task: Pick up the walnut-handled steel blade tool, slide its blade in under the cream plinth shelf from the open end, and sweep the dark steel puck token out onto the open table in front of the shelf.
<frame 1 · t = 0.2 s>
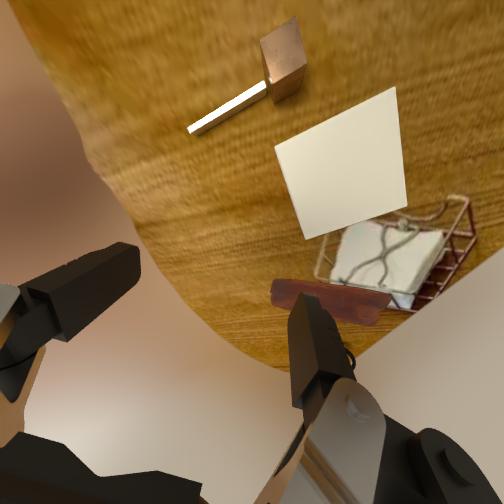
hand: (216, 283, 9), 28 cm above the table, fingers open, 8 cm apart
wooden tablet: (325, 298, 43), on the table
plinth shelf: (327, 174, 31), on the table
blade tool: (281, 82, 27), on the table
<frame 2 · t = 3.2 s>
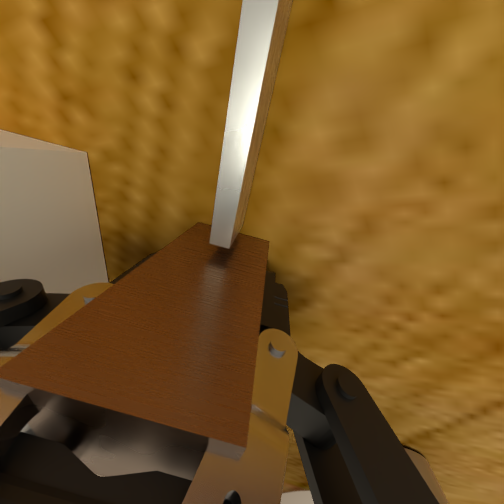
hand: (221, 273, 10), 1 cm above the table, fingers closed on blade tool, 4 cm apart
plinth shelf: (7, 240, 12), on the table
blade tool: (227, 262, 11), on the table, touching gripper
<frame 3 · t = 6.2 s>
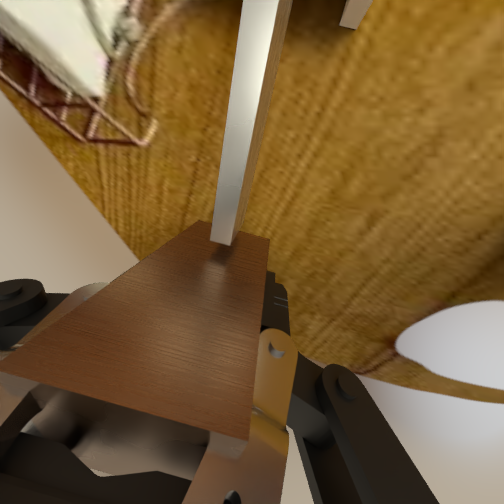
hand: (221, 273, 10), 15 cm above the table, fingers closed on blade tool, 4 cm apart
blade tool: (228, 260, 11), point 14 cm above the table, touching gripper
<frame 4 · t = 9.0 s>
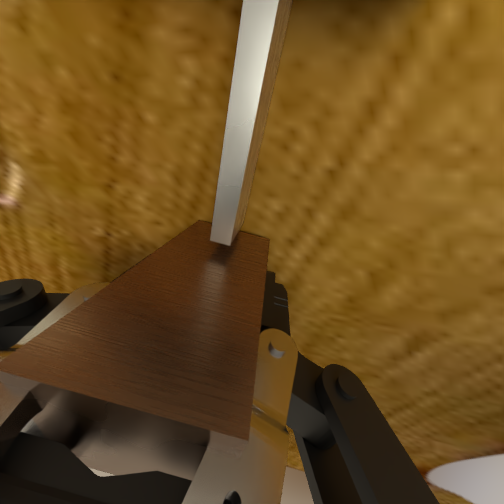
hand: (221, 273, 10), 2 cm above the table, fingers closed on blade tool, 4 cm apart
blade tool: (228, 260, 11), point 1 cm above the table, touching gripper
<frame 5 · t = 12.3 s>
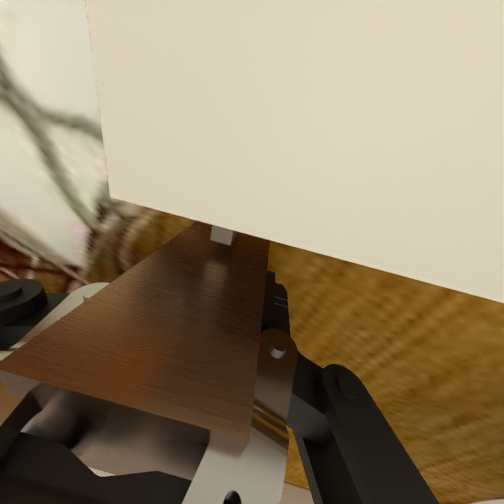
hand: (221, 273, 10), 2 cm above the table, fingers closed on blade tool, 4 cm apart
plinth shelf: (478, 5, 6), on the table
blade tool: (228, 260, 11), point 1 cm above the table, touching gripper, token
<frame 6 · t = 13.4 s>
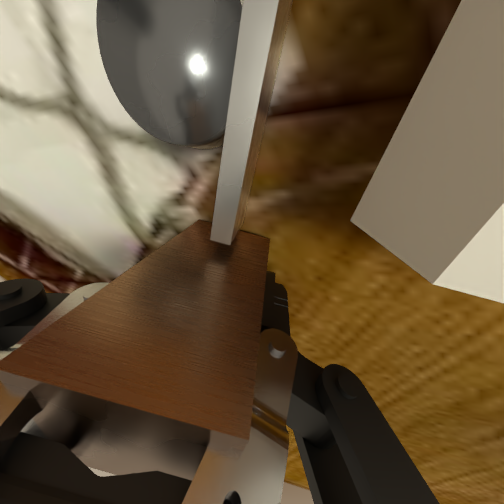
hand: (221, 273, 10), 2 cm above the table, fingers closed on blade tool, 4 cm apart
token: (199, 84, 8), on the table, touching blade tool
blade tool: (228, 260, 11), point 1 cm above the table, touching gripper, token
when the fingers open (2 cm above the table, at t = 14.6 s): blade tool stays where it is, on the table.
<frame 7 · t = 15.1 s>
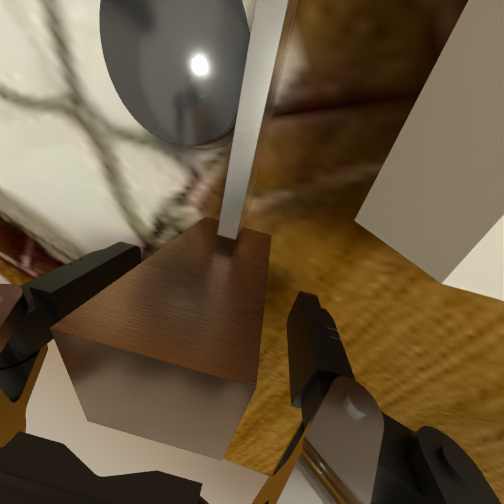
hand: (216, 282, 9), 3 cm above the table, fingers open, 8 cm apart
token: (201, 84, 8), on the table
blade tool: (231, 255, 11), on the table
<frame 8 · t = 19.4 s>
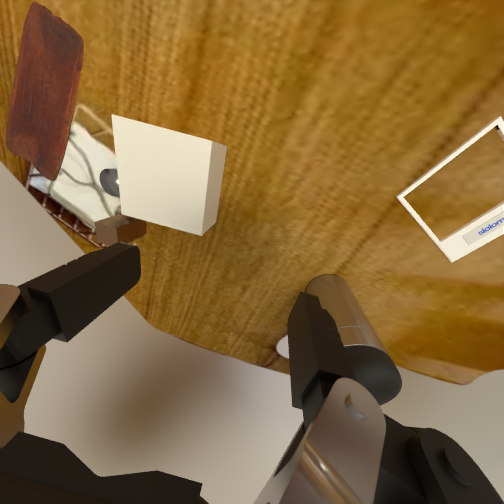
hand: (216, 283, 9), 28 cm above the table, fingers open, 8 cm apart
token: (122, 182, 36), on the table
wooden tablet: (50, 106, 33), on the table
plinth shelf: (185, 178, 34), on the table
blade tool: (137, 222, 40), on the table
photo frame: (466, 200, 31), on the table
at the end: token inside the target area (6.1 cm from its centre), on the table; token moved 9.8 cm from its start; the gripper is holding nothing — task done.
